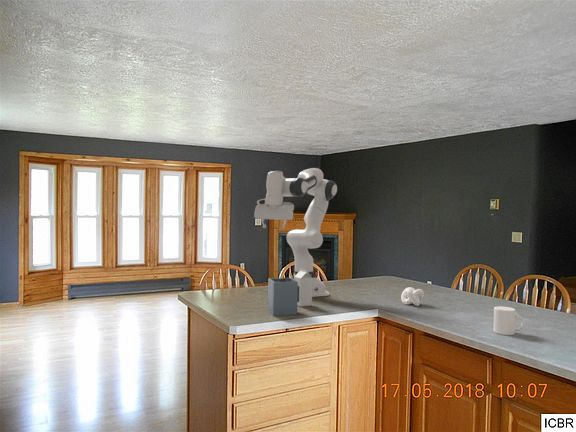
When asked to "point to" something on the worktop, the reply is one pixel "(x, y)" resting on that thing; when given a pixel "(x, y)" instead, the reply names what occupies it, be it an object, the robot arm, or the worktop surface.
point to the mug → (506, 321)
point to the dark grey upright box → (283, 296)
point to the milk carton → (304, 288)
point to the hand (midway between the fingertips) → (273, 228)
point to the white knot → (412, 296)
